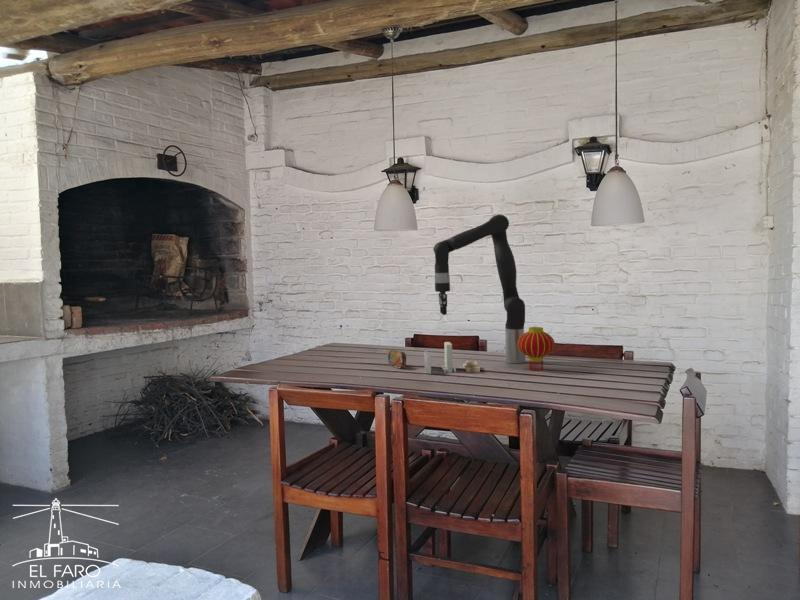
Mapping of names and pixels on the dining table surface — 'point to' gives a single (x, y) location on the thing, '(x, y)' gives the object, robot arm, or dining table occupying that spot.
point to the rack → (428, 363)
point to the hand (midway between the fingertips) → (443, 314)
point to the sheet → (448, 356)
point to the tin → (397, 358)
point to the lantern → (536, 346)
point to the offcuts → (471, 366)
